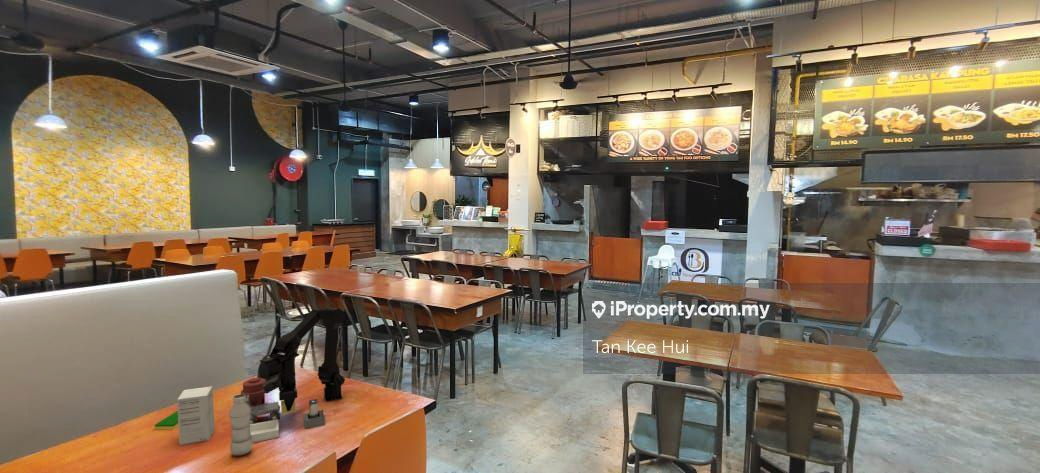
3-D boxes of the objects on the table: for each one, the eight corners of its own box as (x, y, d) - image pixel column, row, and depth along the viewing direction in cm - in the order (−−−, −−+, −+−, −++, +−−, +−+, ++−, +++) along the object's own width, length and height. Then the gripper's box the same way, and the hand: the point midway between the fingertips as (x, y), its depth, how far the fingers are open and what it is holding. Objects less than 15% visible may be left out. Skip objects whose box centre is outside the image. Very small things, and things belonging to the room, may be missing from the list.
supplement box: (185, 433, 174) (183, 389, 173) (215, 428, 177) (212, 385, 176) (178, 445, 165) (176, 399, 164) (209, 440, 169) (207, 394, 168)
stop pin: (317, 420, 184) (317, 398, 183) (318, 423, 181) (317, 401, 181) (309, 422, 182) (308, 399, 182) (310, 425, 180) (309, 402, 179)
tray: (278, 426, 179) (278, 419, 179) (278, 437, 171) (278, 429, 170) (243, 433, 174) (243, 425, 173) (242, 445, 165) (241, 436, 165)
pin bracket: (322, 417, 186) (322, 410, 186) (324, 424, 180) (324, 417, 180) (303, 421, 183) (303, 414, 183) (304, 428, 177) (304, 421, 177)
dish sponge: (154, 431, 177) (153, 424, 177) (179, 414, 191) (179, 408, 191) (173, 431, 177) (173, 424, 177) (197, 414, 191) (197, 408, 191)
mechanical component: (252, 402, 201) (274, 403, 200) (235, 413, 191) (258, 413, 190) (251, 374, 200) (273, 375, 199) (234, 383, 190) (257, 384, 189)
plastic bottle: (236, 448, 163) (233, 392, 161) (256, 447, 163) (254, 391, 162) (226, 458, 156) (223, 400, 155) (247, 457, 157) (245, 399, 156)
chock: (295, 408, 188) (294, 398, 187) (295, 412, 184) (295, 402, 184) (281, 410, 185) (280, 400, 185) (281, 414, 182) (281, 404, 182)
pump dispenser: (251, 390, 215) (250, 357, 214) (267, 381, 225) (266, 350, 224) (271, 391, 213) (270, 358, 212) (286, 383, 223) (285, 351, 222)
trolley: (280, 411, 192) (279, 388, 191) (280, 422, 183) (279, 397, 182) (246, 418, 186) (245, 393, 186) (244, 429, 177) (243, 403, 176)
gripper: (263, 366, 188) (265, 404, 189) (263, 381, 172) (264, 423, 173) (294, 361, 193) (296, 398, 194) (296, 376, 177) (298, 416, 178)
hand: (288, 408), depth 185 cm, fingers closed on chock, 4 cm apart
